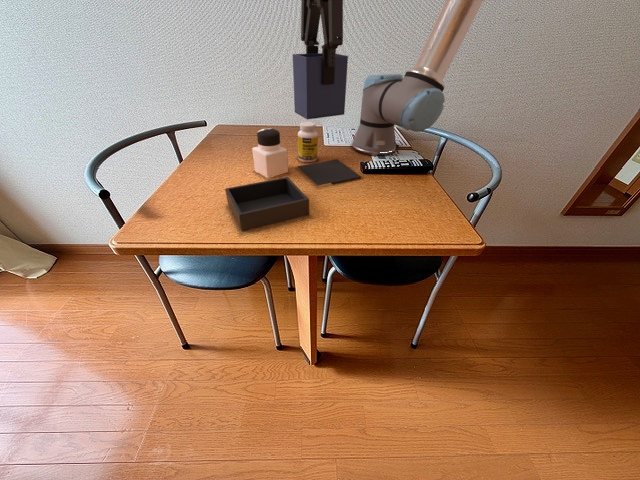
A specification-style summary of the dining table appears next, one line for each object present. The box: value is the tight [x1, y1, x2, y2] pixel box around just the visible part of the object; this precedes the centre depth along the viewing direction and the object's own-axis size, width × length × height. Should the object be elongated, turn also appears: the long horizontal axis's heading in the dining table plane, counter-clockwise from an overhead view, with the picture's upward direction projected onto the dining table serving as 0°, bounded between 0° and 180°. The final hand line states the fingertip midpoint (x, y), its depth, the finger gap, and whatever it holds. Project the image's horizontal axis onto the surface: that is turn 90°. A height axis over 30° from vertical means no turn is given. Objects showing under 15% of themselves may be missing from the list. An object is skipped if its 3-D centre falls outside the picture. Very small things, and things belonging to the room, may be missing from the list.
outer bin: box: [224, 176, 310, 232], centre depth 65 cm, size 15×12×5 cm
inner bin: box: [292, 52, 349, 120], centre depth 66 cm, size 10×7×12 cm
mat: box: [296, 159, 362, 186], centre depth 84 cm, size 14×14×1 cm
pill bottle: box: [297, 121, 319, 163], centre depth 89 cm, size 6×6×11 cm
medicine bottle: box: [251, 127, 289, 179], centre depth 80 cm, size 7×7×12 cm
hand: (319, 81), depth 65 cm, fingers closed on inner bin, 7 cm apart
